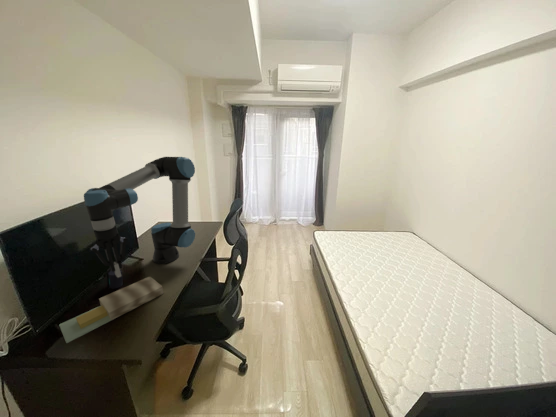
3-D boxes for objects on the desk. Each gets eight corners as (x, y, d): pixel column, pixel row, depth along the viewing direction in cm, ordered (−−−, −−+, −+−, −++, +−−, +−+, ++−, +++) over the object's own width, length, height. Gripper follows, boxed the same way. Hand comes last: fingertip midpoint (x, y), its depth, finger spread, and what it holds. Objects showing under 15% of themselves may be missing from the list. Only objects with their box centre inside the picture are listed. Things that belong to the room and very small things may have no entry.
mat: (100, 305, 100) (100, 305, 100) (111, 320, 92) (111, 319, 92) (59, 325, 90) (59, 324, 90) (66, 343, 82) (66, 342, 82)
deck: (151, 282, 117) (149, 276, 116) (163, 293, 109) (162, 286, 108) (100, 305, 100) (98, 298, 99) (111, 320, 92) (109, 312, 91)
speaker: (103, 288, 112) (101, 270, 109) (112, 282, 118) (111, 265, 115) (116, 291, 111) (115, 273, 109) (125, 284, 117) (124, 267, 114)
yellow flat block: (103, 309, 98) (102, 305, 97) (107, 315, 95) (106, 311, 94) (77, 321, 91) (75, 317, 91) (80, 328, 88) (79, 324, 87)
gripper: (119, 220, 98) (131, 266, 105) (82, 230, 88) (98, 279, 95) (126, 224, 93) (137, 272, 101) (87, 235, 84) (103, 286, 91)
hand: (118, 275), depth 98 cm, fingers closed
